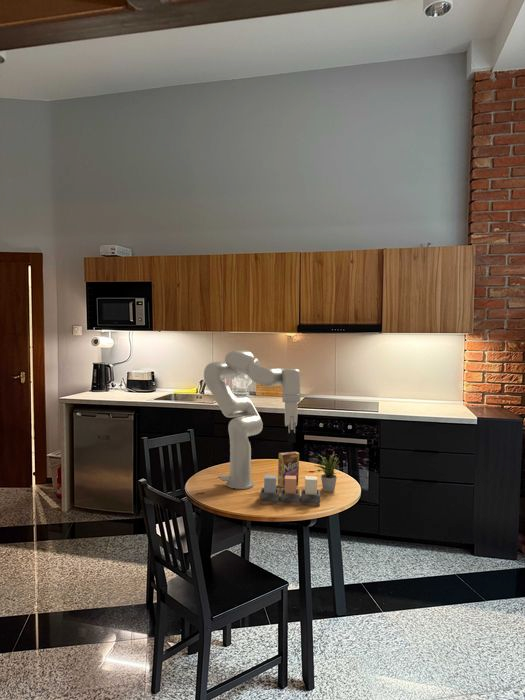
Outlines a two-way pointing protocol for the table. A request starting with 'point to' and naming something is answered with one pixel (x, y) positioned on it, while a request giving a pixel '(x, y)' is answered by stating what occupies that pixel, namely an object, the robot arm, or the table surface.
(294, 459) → the candy box
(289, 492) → the terracotta button
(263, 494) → the button board
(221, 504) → the table surface
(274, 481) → the slate button
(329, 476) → the house plant
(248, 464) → the robot arm
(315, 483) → the cream button
